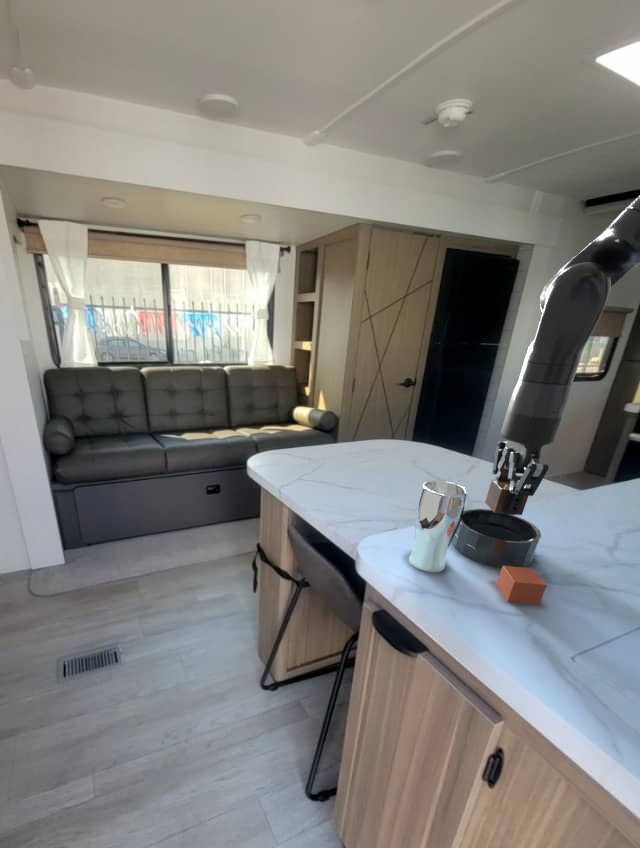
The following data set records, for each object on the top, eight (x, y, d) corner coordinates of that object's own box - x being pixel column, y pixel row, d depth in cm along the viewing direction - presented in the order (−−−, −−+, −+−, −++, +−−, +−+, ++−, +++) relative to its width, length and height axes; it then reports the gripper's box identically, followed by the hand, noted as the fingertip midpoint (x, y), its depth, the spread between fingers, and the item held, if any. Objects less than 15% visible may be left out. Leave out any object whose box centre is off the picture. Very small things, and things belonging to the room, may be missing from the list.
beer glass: (411, 551, 76) (428, 476, 69) (451, 564, 72) (472, 486, 66) (399, 568, 71) (416, 489, 64) (441, 582, 67) (464, 500, 60)
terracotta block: (524, 591, 65) (533, 568, 63) (537, 609, 61) (547, 585, 59) (494, 588, 66) (502, 565, 64) (505, 606, 62) (514, 582, 60)
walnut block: (510, 504, 74) (518, 481, 72) (521, 515, 70) (530, 491, 68) (484, 502, 74) (491, 479, 72) (494, 513, 70) (501, 489, 68)
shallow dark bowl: (511, 538, 81) (520, 511, 78) (543, 576, 69) (556, 546, 67) (442, 532, 83) (449, 506, 80) (463, 568, 71) (471, 539, 68)
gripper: (586, 422, 58) (545, 528, 65) (538, 403, 70) (509, 493, 78) (530, 419, 58) (496, 524, 66) (492, 400, 71) (468, 490, 79)
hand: (503, 506), depth 72 cm, fingers closed on walnut block, 4 cm apart
